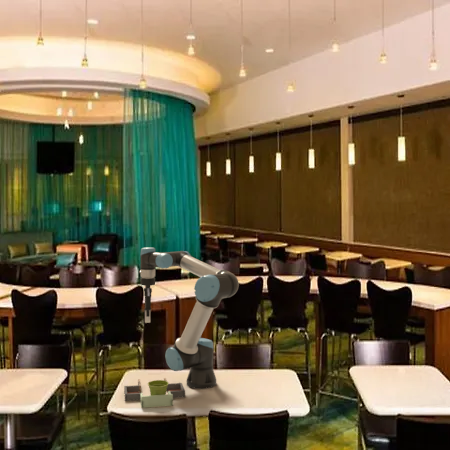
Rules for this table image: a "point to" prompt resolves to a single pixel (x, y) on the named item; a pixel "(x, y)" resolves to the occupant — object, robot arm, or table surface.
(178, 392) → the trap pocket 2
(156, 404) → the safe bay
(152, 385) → the plant pot
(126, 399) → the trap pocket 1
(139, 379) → the chute
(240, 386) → the table surface
